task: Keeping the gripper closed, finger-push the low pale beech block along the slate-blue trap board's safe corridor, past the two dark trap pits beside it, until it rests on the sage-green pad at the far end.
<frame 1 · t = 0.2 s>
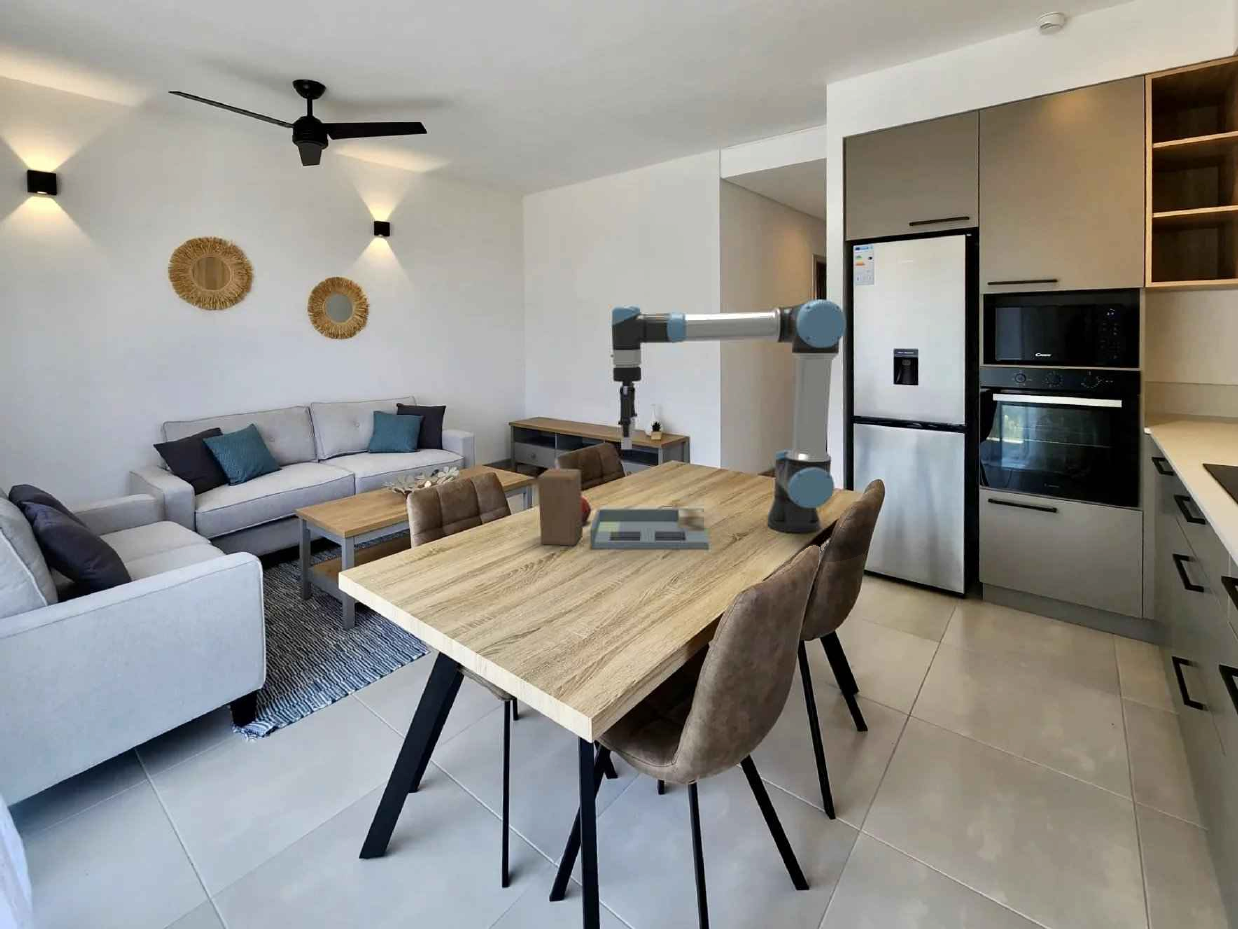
hand: (628, 444, 165), 28 cm above the table, fingers open, 13 cm apart
fruit: (576, 523, 188), on the table
beech block: (690, 526, 176), point 2 cm above the table, touching trap board
wooden block: (562, 540, 172), on the table
trap board: (649, 536, 173), on the table
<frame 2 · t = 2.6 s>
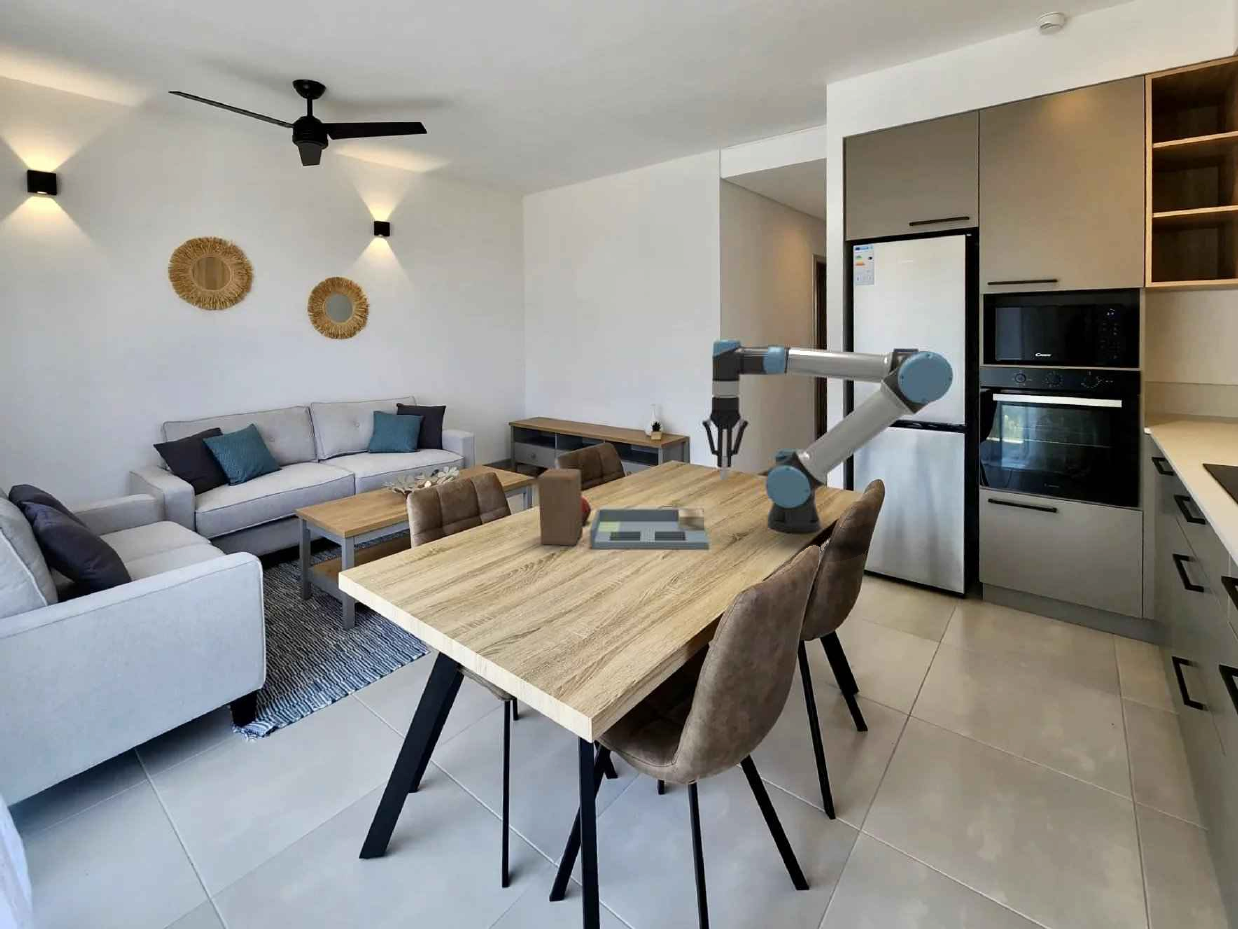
hand: (723, 478, 172), 16 cm above the table, fingers closed
nothing on the table moved.
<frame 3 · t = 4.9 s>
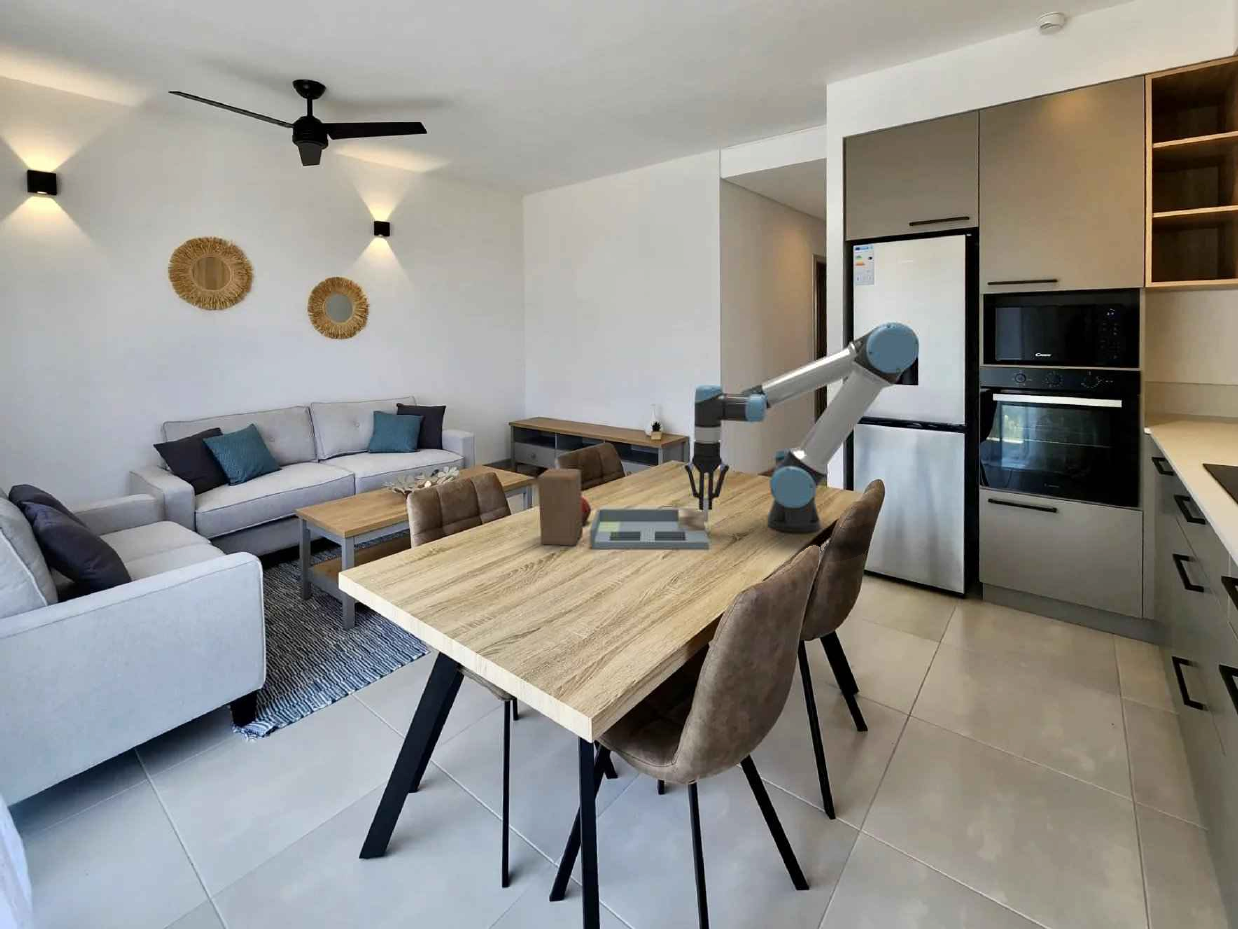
hand: (705, 520, 175), 4 cm above the table, fingers closed
beech block: (690, 526, 176), point 2 cm above the table, touching gripper
everything else where it was.
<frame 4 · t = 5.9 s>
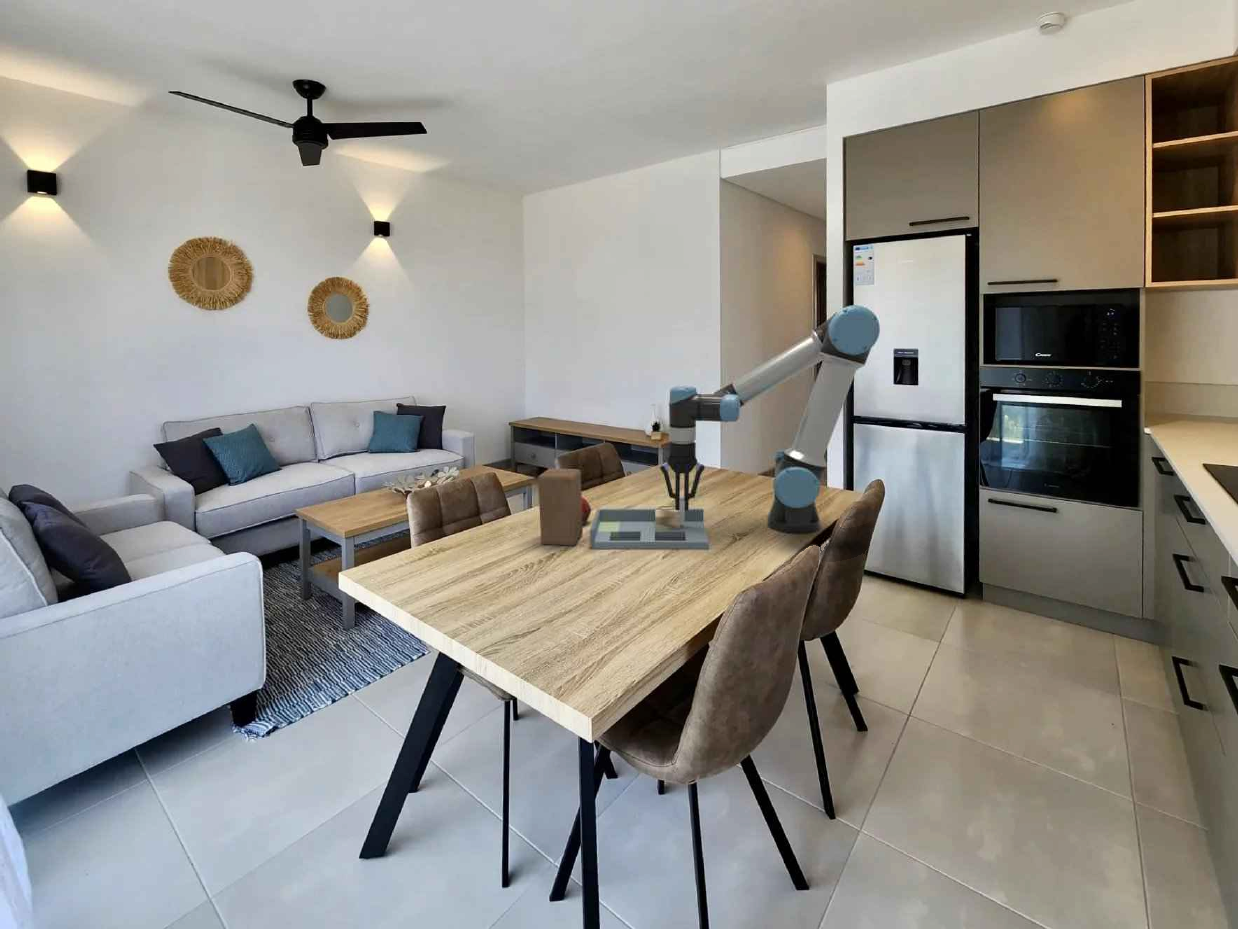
hand: (681, 520, 176), 4 cm above the table, fingers closed
beech block: (667, 526, 176), point 2 cm above the table, touching gripper
everything else where it was.
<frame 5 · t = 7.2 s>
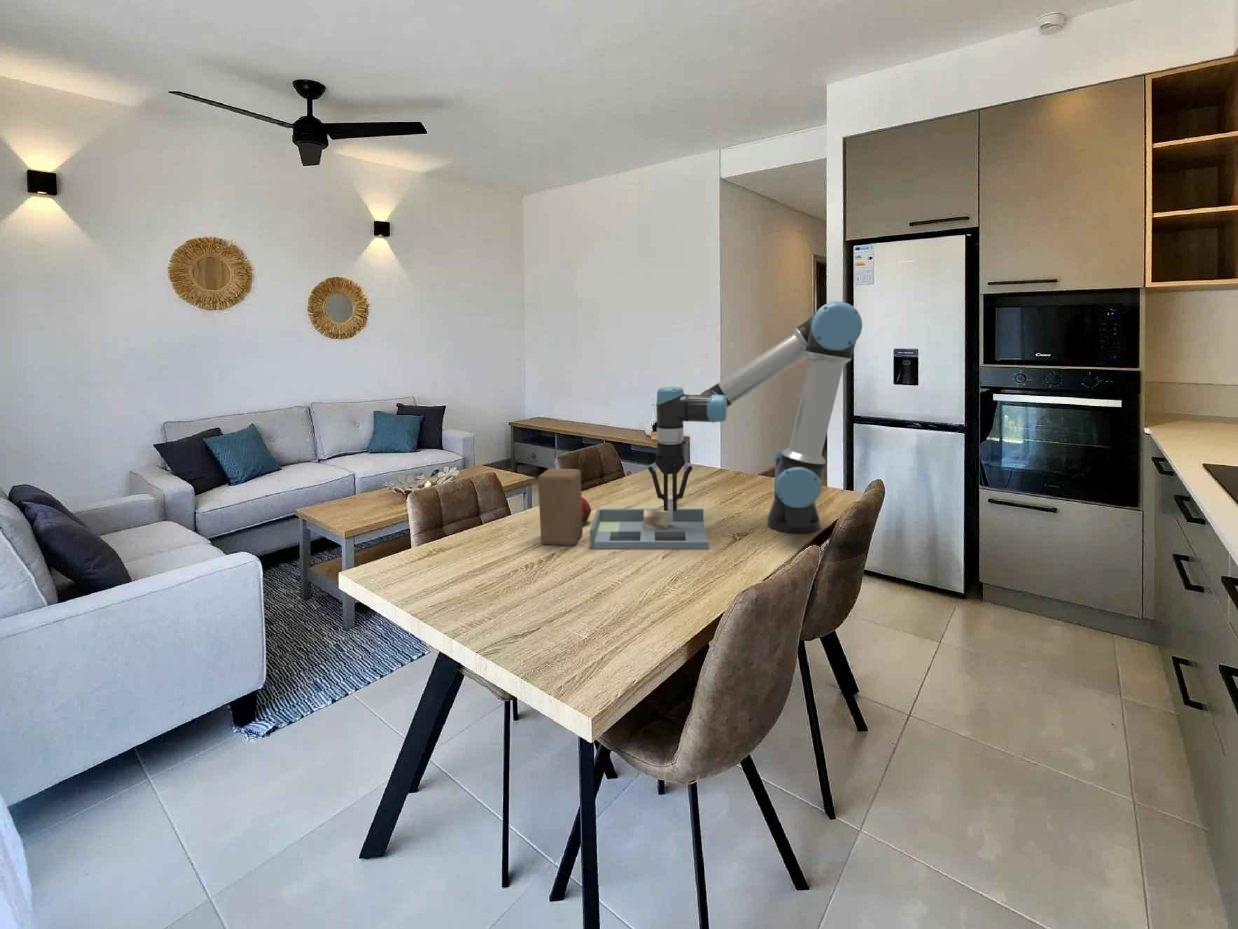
hand: (670, 521, 176), 4 cm above the table, fingers closed
beech block: (655, 526, 176), point 2 cm above the table, touching trap board
everything else where it was.
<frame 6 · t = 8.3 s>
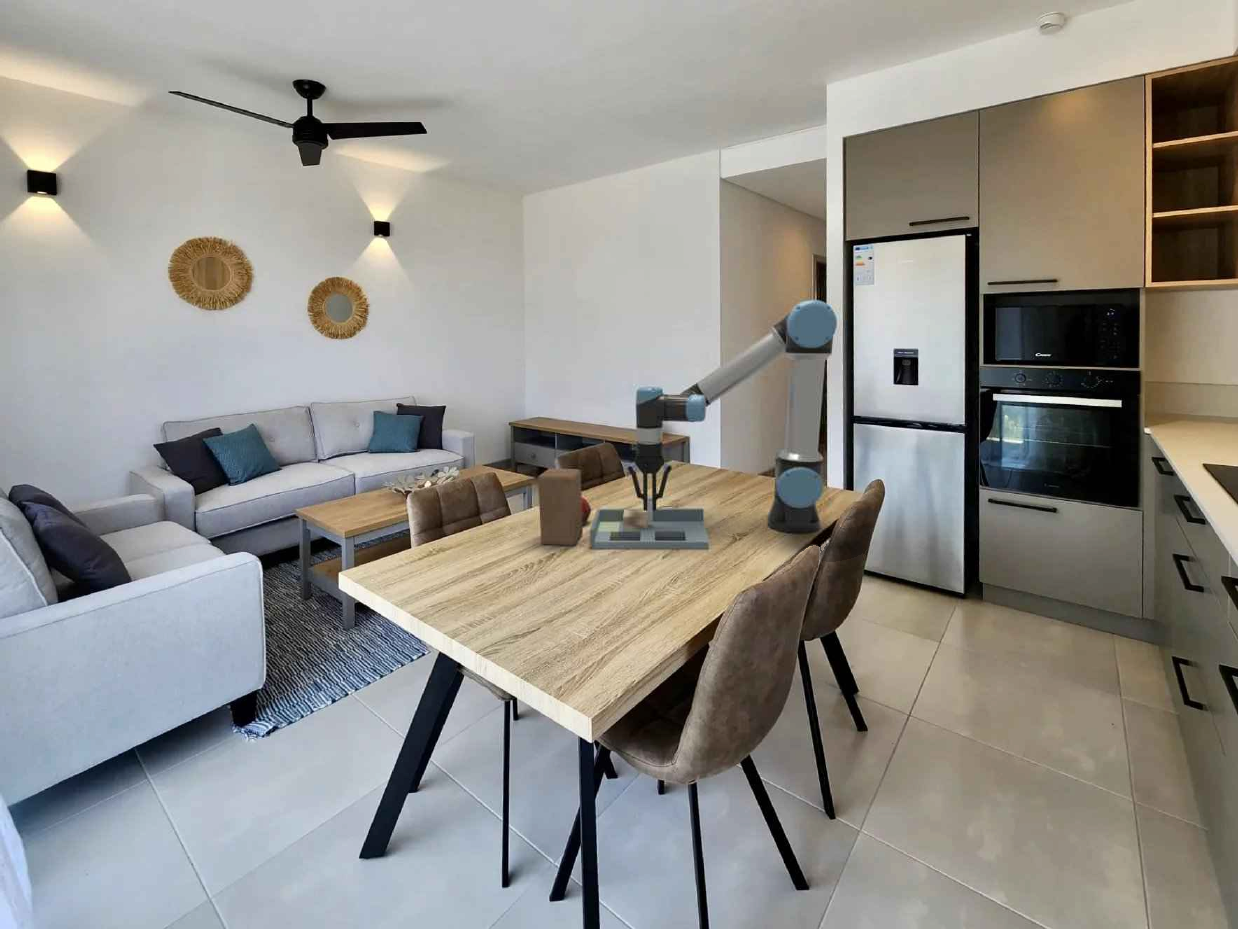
hand: (650, 520, 176), 4 cm above the table, fingers closed
beech block: (635, 526, 177), point 2 cm above the table, touching gripper, trap board
everything else where it was.
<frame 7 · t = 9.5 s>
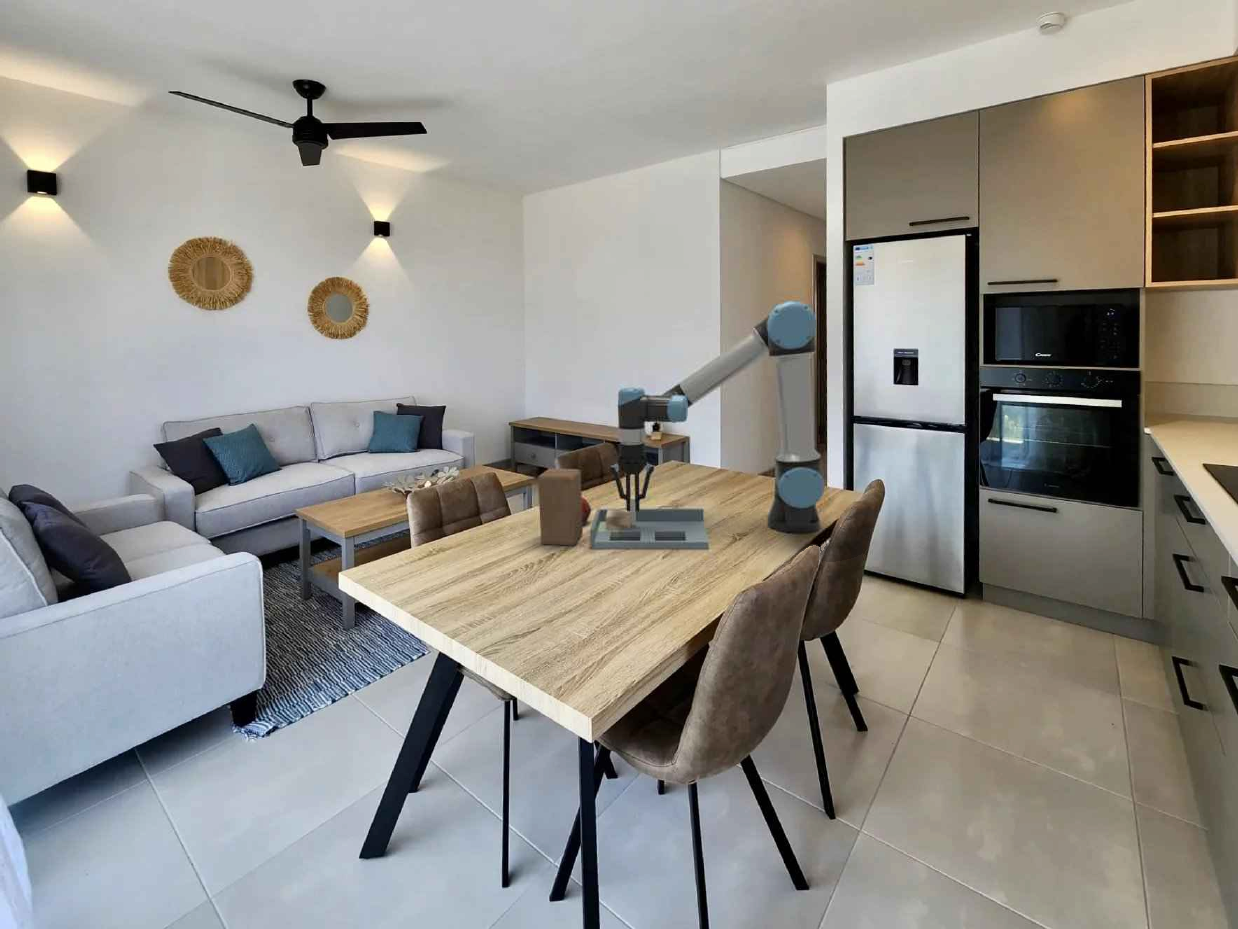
hand: (633, 521, 176), 3 cm above the table, fingers closed
beech block: (619, 526, 177), point 2 cm above the table, touching gripper, trap board
everything else where it was.
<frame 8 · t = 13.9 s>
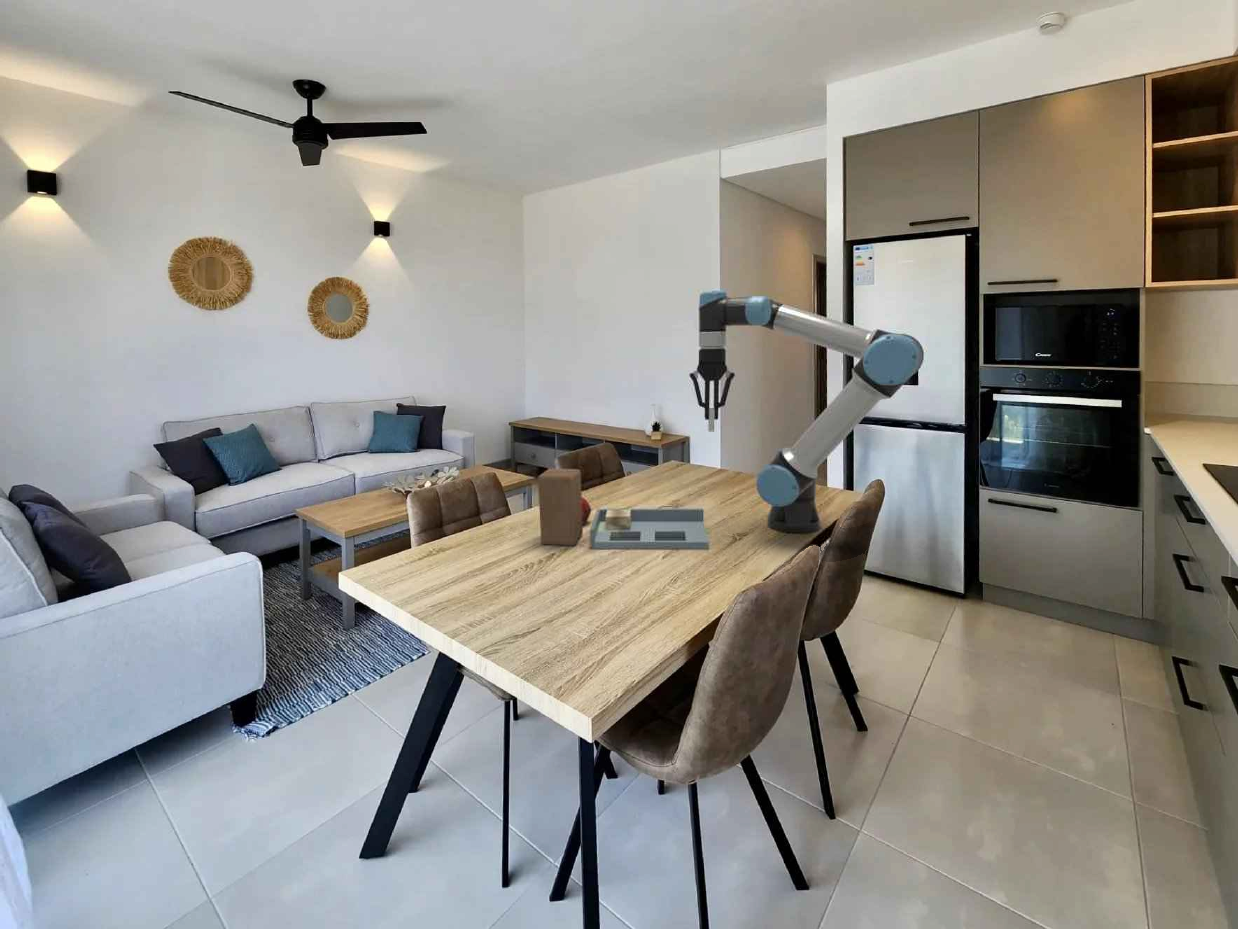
hand: (711, 430, 174), 29 cm above the table, fingers closed
beech block: (618, 526, 177), point 2 cm above the table, touching trap board
everything else where it was.
at the end: beech block inside the target area (1.9 cm from its centre), point 2.0 cm above the table; beech block tilted 1°; beech block moved 21.1 cm from its start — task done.
